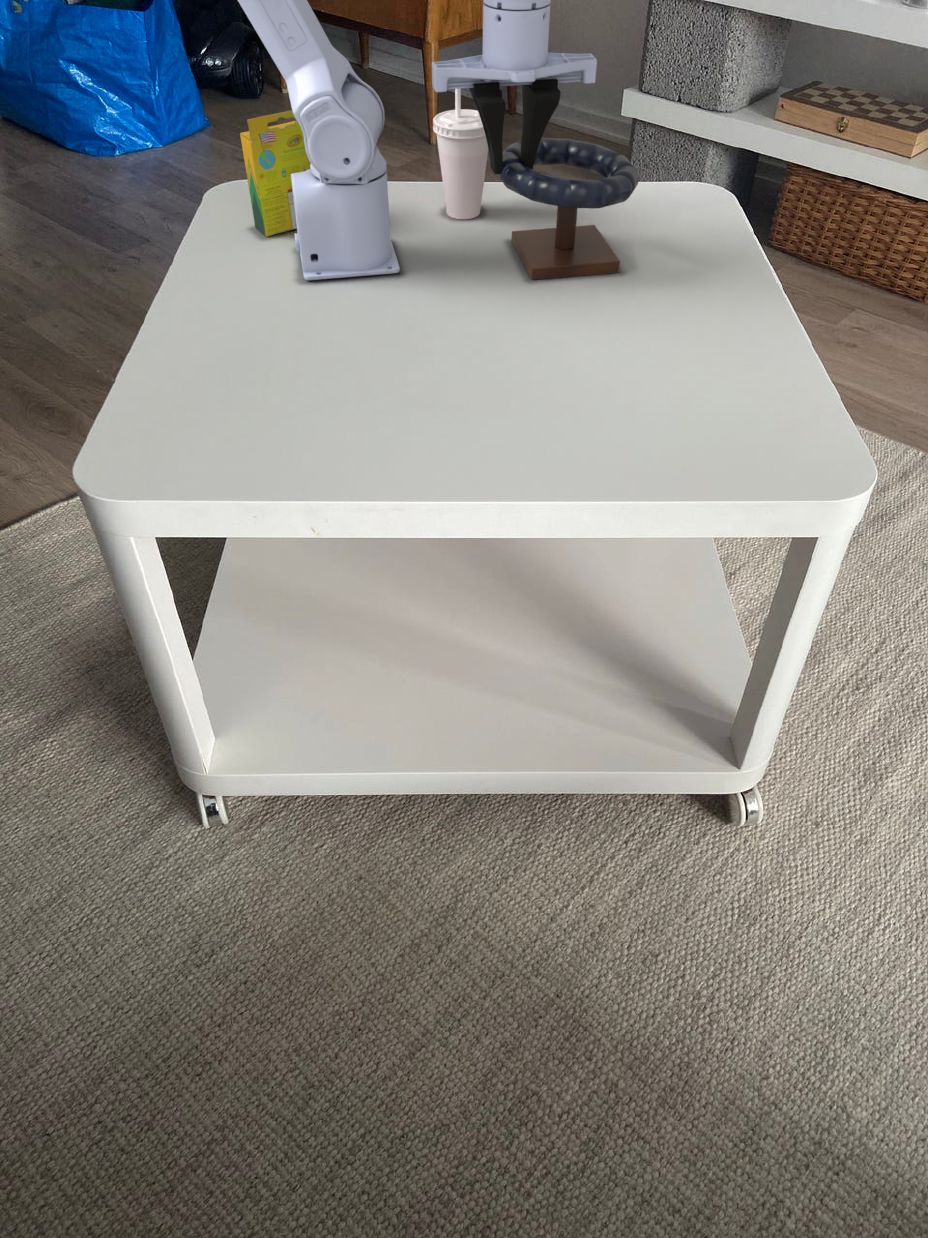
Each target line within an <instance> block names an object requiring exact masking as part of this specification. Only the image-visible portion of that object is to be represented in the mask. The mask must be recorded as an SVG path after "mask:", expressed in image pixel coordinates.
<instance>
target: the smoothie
mask: <svg viewBox="0 0 928 1238" xmlns="http://www.w3.org/2000/svg"><path fill="white" fill-rule="evenodd" d="M461 90H462V88H461V89H454V100H455V101H454V105H455V107H454V109H450V110H445V111H442V112H439V113H437V114H436V115H435V116H434V117H433V119H432V125H433V126H432V130H433V131H432V132H434V133H435V134H436V143H437V151H438V157H439V164H440V165H439V166H440V173H441V181H442V187H443V195H444V203H445V210H446V215H447V216H448V217H449V218H452V219H456V220H472V219H475V218H477V217H478V216H480V214H481V207H482V200H483V193H484V185H485V178H486V169H487V163H488V157H489V156H488V155H489V149H488V144H487V140H486V136H485V132H484V128H483V125H482V122H481V119H480V116H479V113H478V110H477V109H469V108H467V109H466V108H464V109H463V108H461V107H462V106H461V105H462V104H461V103H462V102H461V101H462V92H461Z"/></svg>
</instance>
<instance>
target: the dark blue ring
mask: <svg viewBox="0 0 928 1238" xmlns="http://www.w3.org/2000/svg"><path fill="white" fill-rule="evenodd" d="M536 166H565V167H566V166H567V167H570V168H576V169H580V170H585V171H590V172H593V173H595V174H597V175H599V176H602V177H604V178H600V179H572V178H571V179H569V178H564V177H560V176H556V175H551V174H545V173H542V172H539V171H537V170H535V169H534V168H533V169H531V168H529V167H526V166H524V165H523V163H522V162H521V141H518V142H513V143H511V144H509V145H508V146H507V147H506V148H505V149H504V150H503V169H502V173H501V174H498V177H499V178H500V180H501V182H502V184H503V185H504V186H505V188H506V189H508V190H510V191H511V192H514V193H515V194H518V195H519V196H522V197H523V198H525V199H528V200H529V201H532V202H535V203H536V202H537V203H541V204H545V205H549V206H550V205H551V206H554V207H557V206H559V207H563V208H578V209H602V208H605V207H609V206H610V207H611V206H614V205H617V204H620V203H624V202H626V201H627V200H629V199H630V197H631V196H632V195H633V193H634V191H635V189H636V188H637V186H638V184H639V181H640V174H639V172H638V170H637V168H635V166H634V165H633V164H632V163H631V162H630V160H629V159H628V157H626V156H625V155H623V154H621V153H618V152H616V151H614V150H611V149H609V148H607V147H605V146H602V145H601V144H596V143H591V142H587V141H581V140H576V139H572V138H554V137H553V138H552V137H542V138H541V141H540V144H539V147H538V150H537V154H536V157H535V161H534V166H533V167H536Z"/></svg>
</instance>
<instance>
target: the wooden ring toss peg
mask: <svg viewBox="0 0 928 1238" xmlns="http://www.w3.org/2000/svg"><path fill="white" fill-rule="evenodd" d="M578 209H579V208H563V207H559V206H556V219H555V220H556V221H555V227H548V228H537V229H524V230H523V229H522V230H512V231H511V241H510V242H511V244H512V246H513V248H514V249H515V251H516V253H517V255H518V257H519V259H520V261H521V263H522V265H523V267H524V268H525V271H526V273H527V274H528V276H529V278H530V280H532V281H535V280H544V279H547V280H548V279H557V278H558V279H559V278H570V277H581V276H582V277H583V276H593V275H595V276H596V275H606V274H617V273H619V272H620V265H621V261H620V259H619V258H618V256H617V254H615V252H614V251H613V249H612V247H611V246H610V245H609V243H608V242H607V240H606V239H605V238H604V236H603V235H602V233H601V232H600V231H599V229H598V228H597V226H596V225H595V224H588V225H587V224H586V225H577V219H578Z"/></svg>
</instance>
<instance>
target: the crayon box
mask: <svg viewBox="0 0 928 1238" xmlns="http://www.w3.org/2000/svg"><path fill="white" fill-rule="evenodd" d="M281 118H283V119H285V120H288V119H291V118H292V119H294V120H293V121H289V122H284V123H279V124H275V125H271V126H268V124H270V123H273V122H277V121H278V120H279V119H281ZM246 123H247V127H248V131H243V132H240V133H239V135H240V142H241V147H242V153H243V159H244V166H245V172H246V178H247V185H248V190H249V197H250V202H251V203H250V204H251V208H252V209H251V210H252V216H253V223H254V227H255V229H256V230H257V231H258V232H259V233H261V234H262V235H263V236H264V237H266V238H269V237H272V236H273V235H277V234H281V233H284V232H290V231H292V230H297V225H296V216H295V208H294V200H293V191H292V182H291V174H293V173H298V172H303V171H306V170H309V169H311V166H310V164H311V162H310V161H309V159H308V156H307V153H306V150H305V142H304V135H303V132H302V129H301V127H300V125H299V123H298V121H297V119H296V118H295V116H294V114H293V111H292V109H291V110H286V111H281V112H277V113H271V114H267V115H262V116H257V117H252V118H248V119H246Z"/></svg>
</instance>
